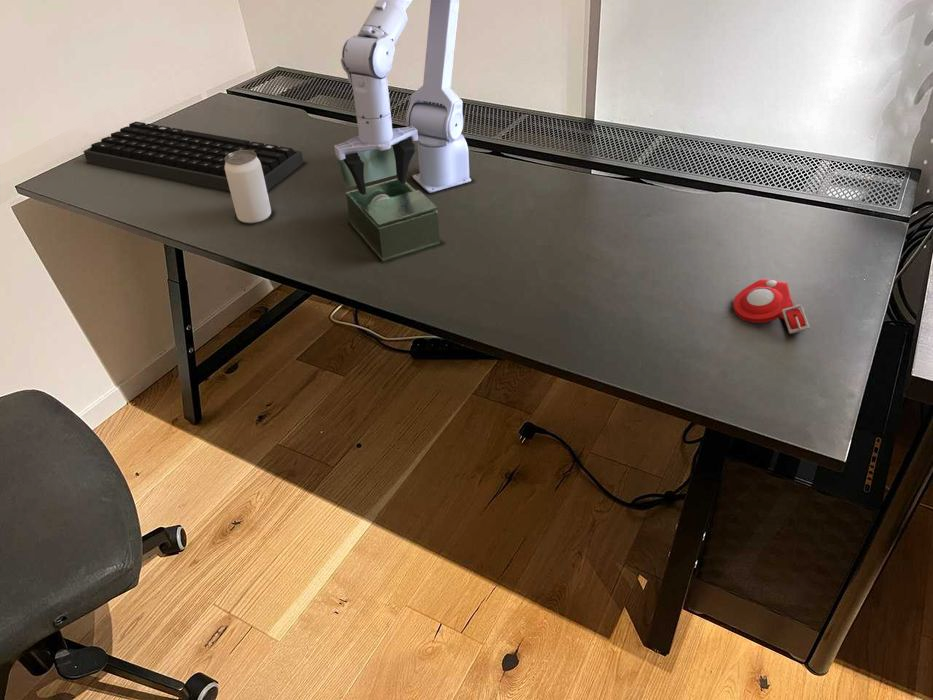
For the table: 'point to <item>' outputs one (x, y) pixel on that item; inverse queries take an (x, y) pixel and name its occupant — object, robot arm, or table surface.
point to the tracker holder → (770, 305)
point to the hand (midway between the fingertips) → (382, 186)
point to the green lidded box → (394, 219)
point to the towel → (379, 198)
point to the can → (247, 186)
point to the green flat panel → (371, 166)
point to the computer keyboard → (186, 155)
